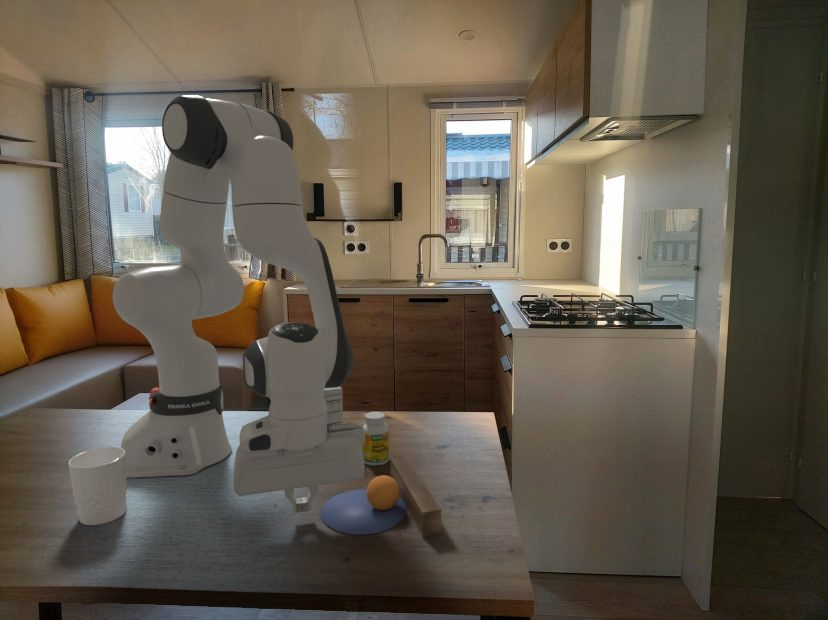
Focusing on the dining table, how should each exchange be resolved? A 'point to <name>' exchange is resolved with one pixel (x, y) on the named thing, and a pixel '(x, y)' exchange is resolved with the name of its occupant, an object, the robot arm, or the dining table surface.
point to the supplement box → (334, 405)
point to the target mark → (360, 514)
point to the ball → (383, 492)
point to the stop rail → (416, 497)
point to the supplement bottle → (376, 439)
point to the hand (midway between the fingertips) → (301, 510)
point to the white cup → (99, 484)
